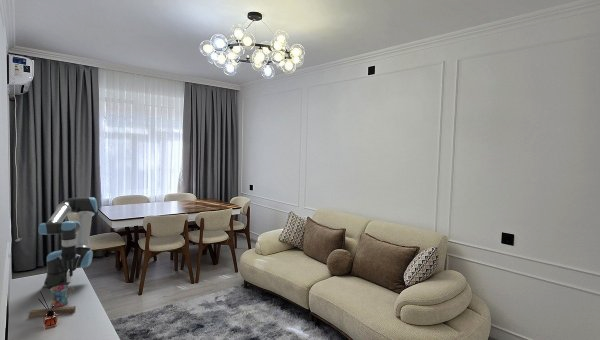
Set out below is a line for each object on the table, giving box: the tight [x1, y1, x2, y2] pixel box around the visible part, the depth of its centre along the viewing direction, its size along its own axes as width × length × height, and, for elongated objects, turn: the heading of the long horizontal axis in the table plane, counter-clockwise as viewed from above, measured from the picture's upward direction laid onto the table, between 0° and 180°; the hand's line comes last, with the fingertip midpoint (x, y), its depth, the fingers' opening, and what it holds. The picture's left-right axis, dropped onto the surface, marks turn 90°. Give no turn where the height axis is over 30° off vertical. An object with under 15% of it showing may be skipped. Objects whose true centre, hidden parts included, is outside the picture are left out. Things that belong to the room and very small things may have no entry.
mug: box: [49, 284, 75, 308], centre depth 203 cm, size 12×9×11 cm
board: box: [28, 305, 77, 318], centre depth 191 cm, size 3×22×3 cm, turn 106°
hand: (69, 281), depth 213 cm, fingers closed
